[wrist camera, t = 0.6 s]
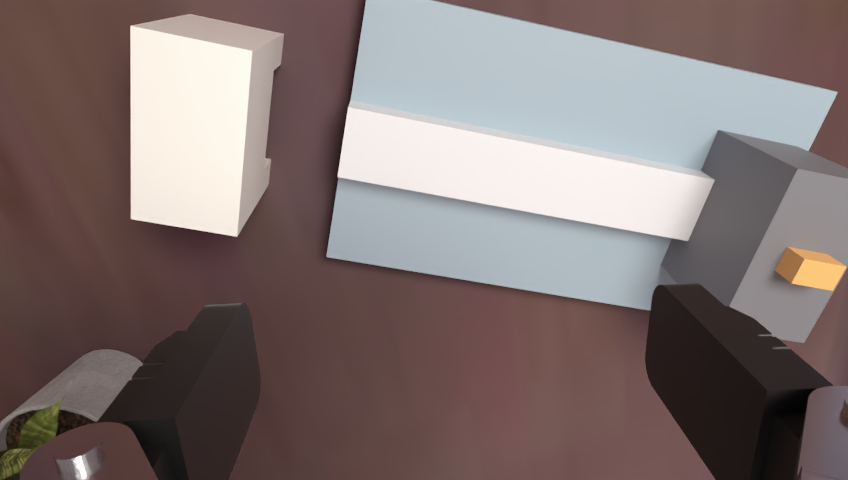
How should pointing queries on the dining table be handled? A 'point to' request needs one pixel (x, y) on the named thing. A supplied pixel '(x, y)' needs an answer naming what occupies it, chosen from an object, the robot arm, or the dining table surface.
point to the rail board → (549, 108)
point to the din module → (200, 121)
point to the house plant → (64, 405)
